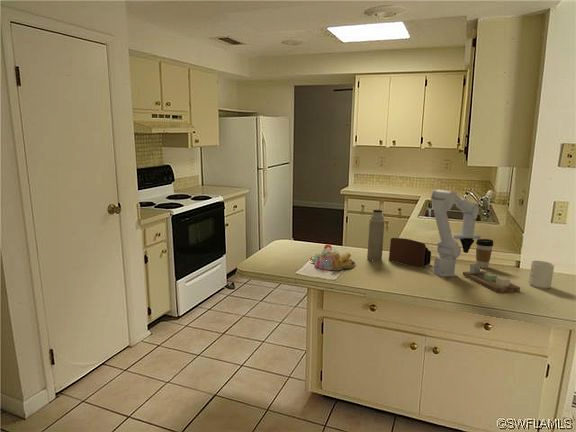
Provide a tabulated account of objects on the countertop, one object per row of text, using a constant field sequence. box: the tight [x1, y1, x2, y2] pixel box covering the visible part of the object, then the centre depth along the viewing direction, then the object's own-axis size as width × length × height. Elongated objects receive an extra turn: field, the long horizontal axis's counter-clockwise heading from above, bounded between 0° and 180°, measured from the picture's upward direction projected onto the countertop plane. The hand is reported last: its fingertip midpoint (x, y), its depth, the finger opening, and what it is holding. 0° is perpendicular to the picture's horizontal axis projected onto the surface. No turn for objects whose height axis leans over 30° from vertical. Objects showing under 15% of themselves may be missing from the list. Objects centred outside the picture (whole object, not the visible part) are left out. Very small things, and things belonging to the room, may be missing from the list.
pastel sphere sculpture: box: [309, 243, 356, 271], centre depth 211 cm, size 25×24×9 cm
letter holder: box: [388, 237, 432, 269], centre depth 218 cm, size 10×20×14 cm, turn 50°
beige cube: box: [495, 276, 511, 287], centre depth 180 cm, size 4×4×4 cm
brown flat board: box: [462, 270, 521, 294], centre depth 188 cm, size 12×24×2 cm, turn 12°
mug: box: [528, 260, 555, 290], centre depth 187 cm, size 12×9×11 cm
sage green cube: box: [484, 272, 498, 281], centre depth 188 cm, size 4×4×4 cm
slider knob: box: [469, 263, 481, 274], centre depth 195 cm, size 3×4×4 cm
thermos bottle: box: [366, 209, 386, 262], centre depth 221 cm, size 8×8×28 cm
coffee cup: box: [475, 238, 494, 269], centre depth 214 cm, size 8×8×15 cm
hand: (465, 252), depth 207 cm, fingers closed
